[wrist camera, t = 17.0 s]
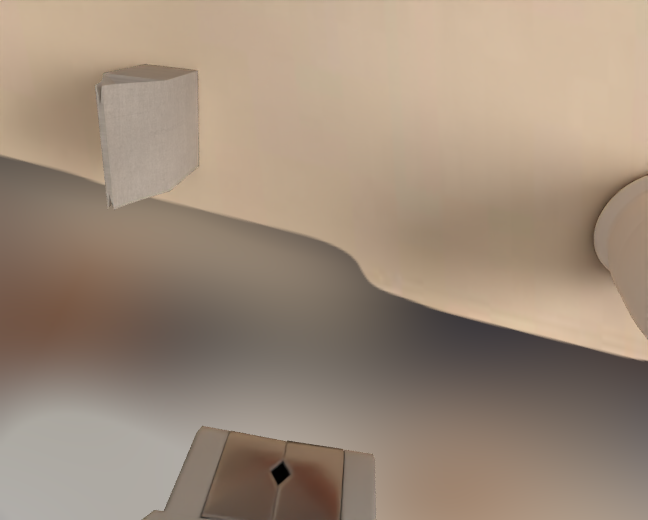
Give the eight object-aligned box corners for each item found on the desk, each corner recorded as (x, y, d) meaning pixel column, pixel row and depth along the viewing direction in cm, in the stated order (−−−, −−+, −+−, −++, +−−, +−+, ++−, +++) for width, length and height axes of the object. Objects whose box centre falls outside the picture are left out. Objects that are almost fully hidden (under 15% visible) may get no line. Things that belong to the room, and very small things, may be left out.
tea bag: (197, 70, 34) (135, 90, 25) (198, 166, 37) (143, 213, 28) (145, 64, 34) (64, 81, 25) (150, 159, 37) (80, 205, 28)
